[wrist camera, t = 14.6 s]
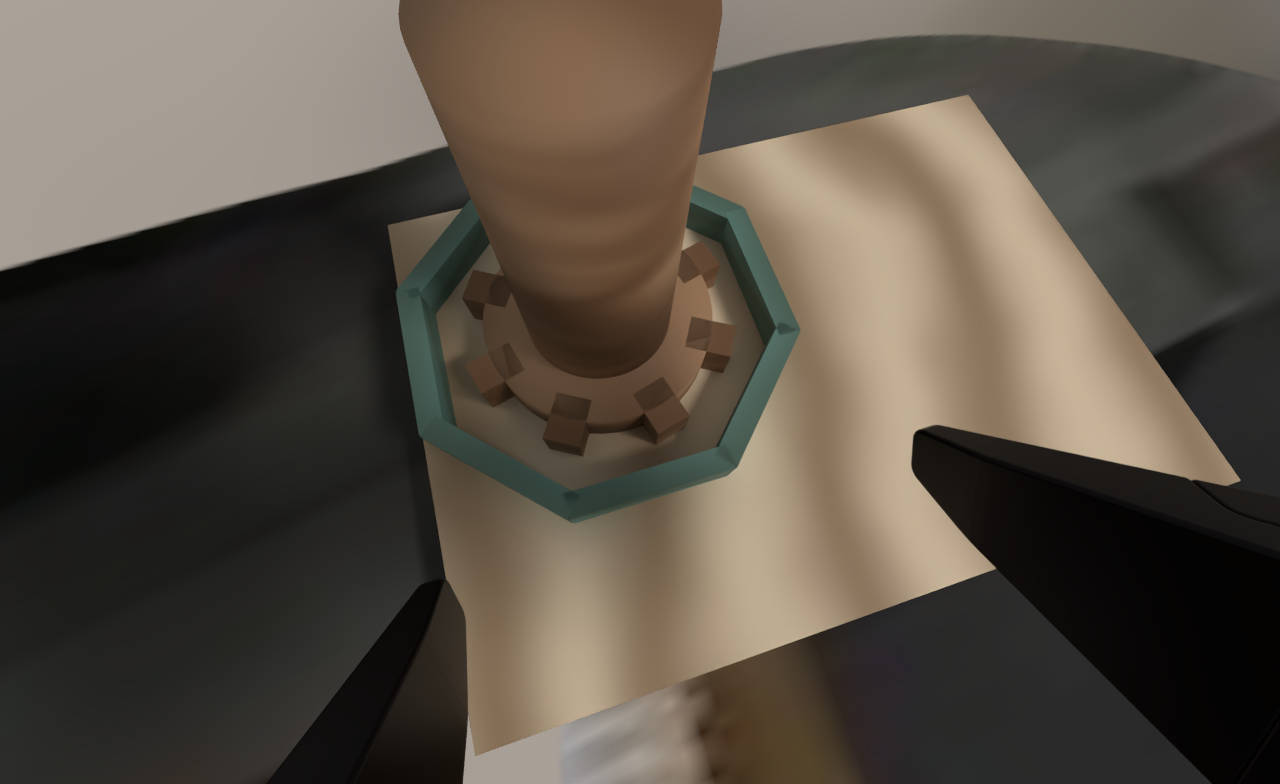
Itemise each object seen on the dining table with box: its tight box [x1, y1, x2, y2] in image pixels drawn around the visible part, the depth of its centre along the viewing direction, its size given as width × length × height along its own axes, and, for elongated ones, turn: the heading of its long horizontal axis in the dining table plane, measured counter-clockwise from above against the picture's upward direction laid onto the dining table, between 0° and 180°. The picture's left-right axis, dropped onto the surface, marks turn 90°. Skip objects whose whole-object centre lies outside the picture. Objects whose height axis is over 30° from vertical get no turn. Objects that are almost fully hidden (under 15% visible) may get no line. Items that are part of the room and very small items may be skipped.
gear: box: [399, 0, 736, 457], centre depth 13 cm, size 10×10×12 cm
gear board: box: [388, 95, 1241, 756], centre depth 18 cm, size 27×19×3 cm
